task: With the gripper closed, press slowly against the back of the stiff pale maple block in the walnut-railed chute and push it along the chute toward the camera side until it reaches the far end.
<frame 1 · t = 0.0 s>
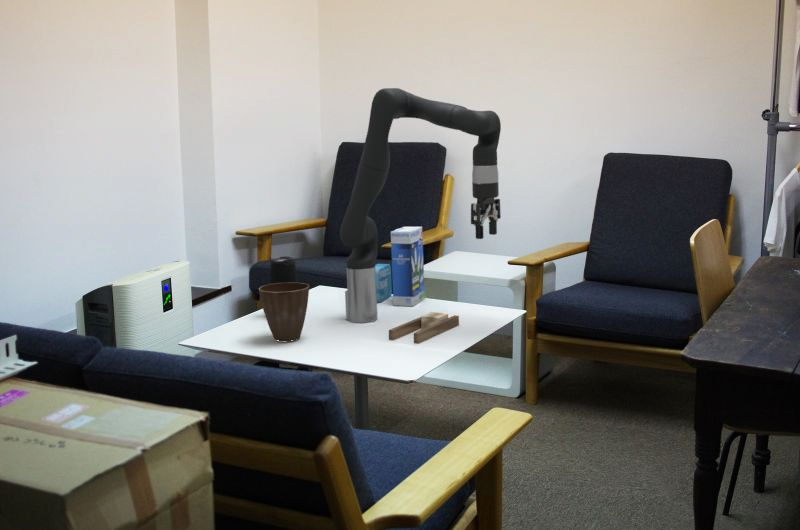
hand: (486, 236, 270), 29 cm above the table, tool pointing down, fingers open, 8 cm apart
walnut chute: (425, 334, 277), on the table
maple block: (434, 321, 282), point 3 cm above the table, slide at 0.0 cm
portable speaker: (285, 317, 308), on the table
data package: (380, 300, 329), on the table
plant pot: (287, 339, 278), on the table
string lights box: (408, 302, 322), on the table
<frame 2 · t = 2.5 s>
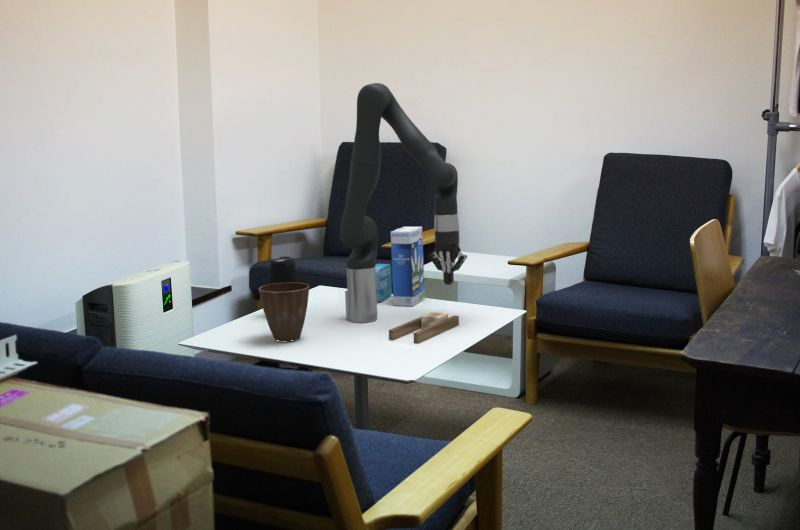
hand: (448, 284, 287), 13 cm above the table, tool pointing down, fingers closed
nothing on the table moved.
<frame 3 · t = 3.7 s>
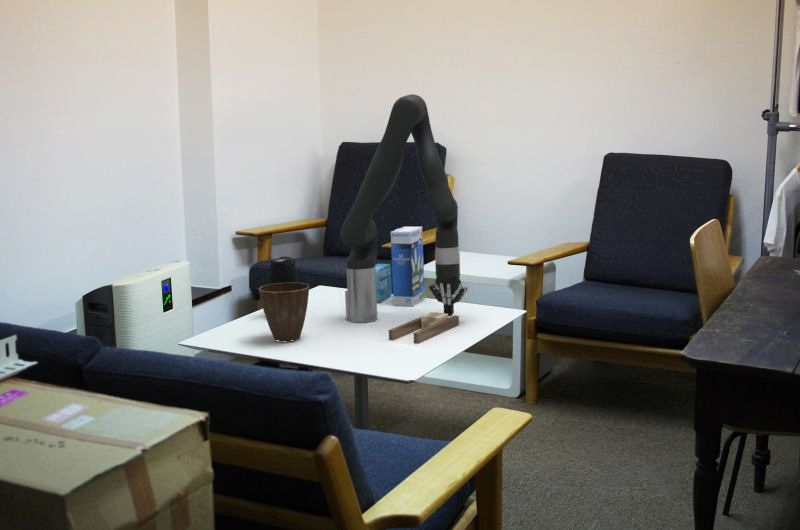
hand: (448, 315, 289), 3 cm above the table, tool pointing down, fingers closed
nothing on the table moved.
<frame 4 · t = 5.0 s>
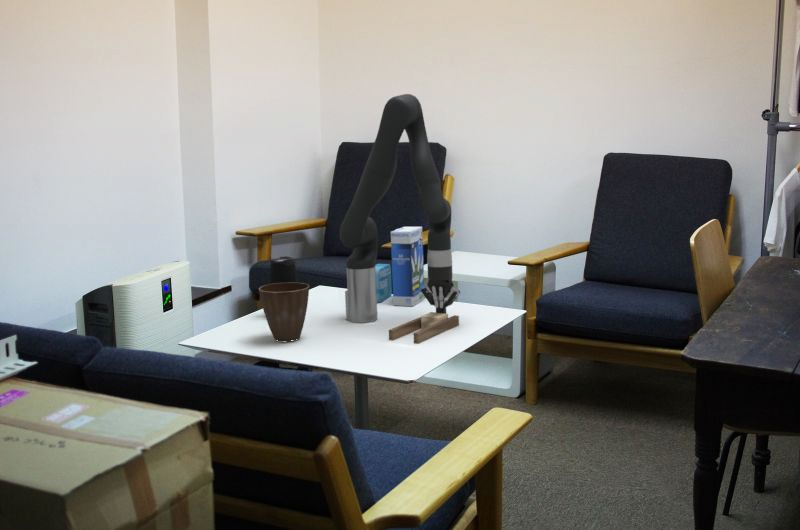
hand: (441, 319, 285), 2 cm above the table, tool pointing down, fingers closed
maple block: (434, 321, 282), point 3 cm above the table, slide at 0.1 cm, touching gripper
everything else where it was.
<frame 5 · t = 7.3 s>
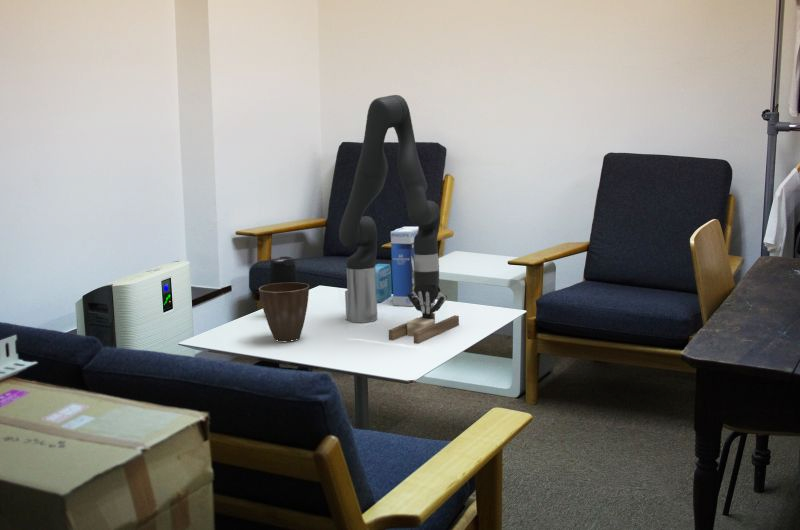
hand: (428, 324, 279), 2 cm above the table, tool pointing down, fingers closed
maple block: (421, 327, 275), point 3 cm above the table, slide at 8.1 cm, touching gripper
everything else where it was.
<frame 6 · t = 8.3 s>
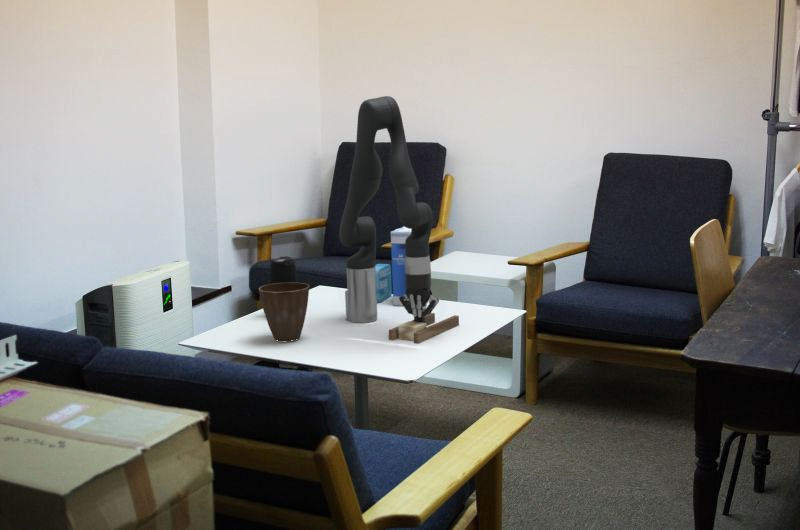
hand: (419, 328, 275), 2 cm above the table, tool pointing down, fingers closed
maple block: (412, 330, 271), point 3 cm above the table, slide at 12.9 cm, touching gripper
everything else where it was.
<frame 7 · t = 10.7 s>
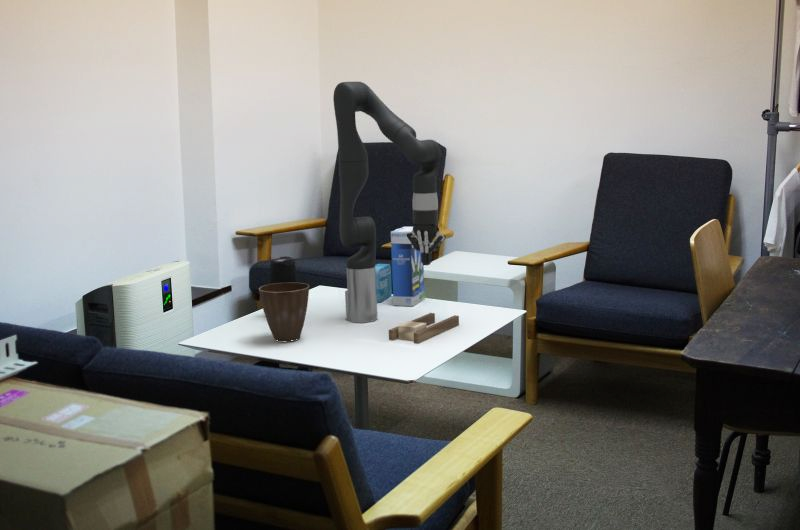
hand: (426, 264, 279), 20 cm above the table, tool pointing down, fingers closed
maple block: (412, 331, 271), point 3 cm above the table, slide at 13.0 cm
everything else where it was.
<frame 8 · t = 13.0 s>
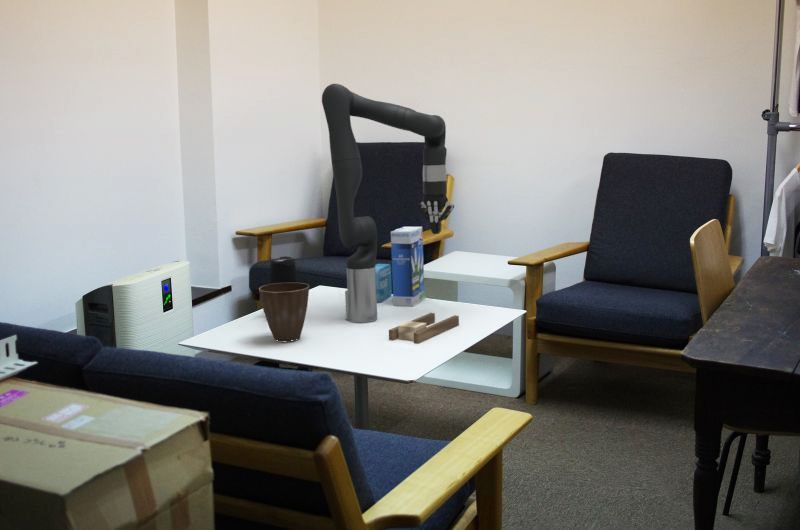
hand: (436, 233, 295), 27 cm above the table, tool pointing down, fingers closed
nothing on the table moved.
at the end: maple block slide at 13.0 cm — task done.
